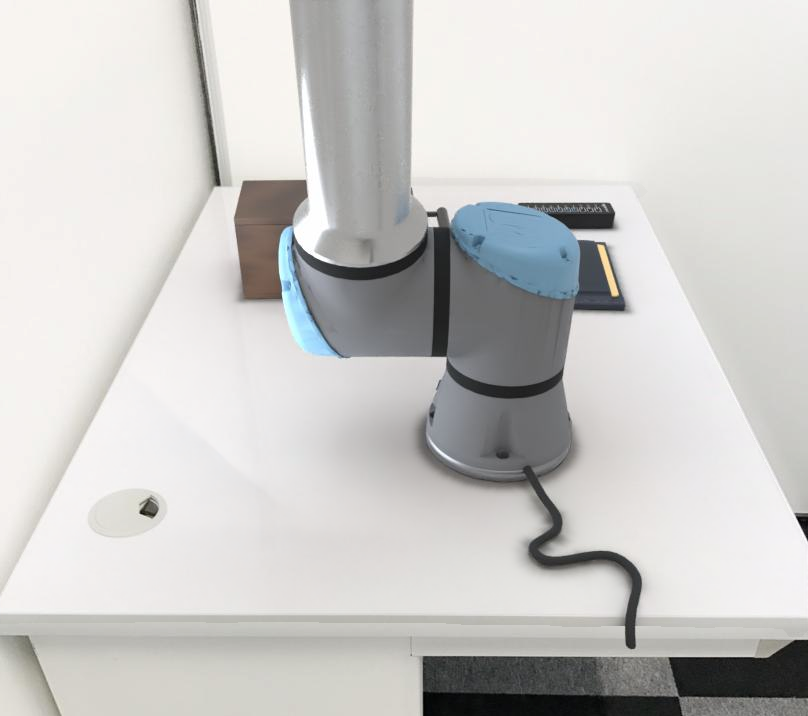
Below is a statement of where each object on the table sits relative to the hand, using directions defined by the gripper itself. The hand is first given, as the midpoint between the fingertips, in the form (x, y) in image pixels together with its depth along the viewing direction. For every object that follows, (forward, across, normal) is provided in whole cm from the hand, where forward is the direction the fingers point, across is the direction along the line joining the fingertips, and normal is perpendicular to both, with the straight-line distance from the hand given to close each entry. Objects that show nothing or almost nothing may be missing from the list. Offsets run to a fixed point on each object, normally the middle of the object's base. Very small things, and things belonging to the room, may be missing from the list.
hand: (378, 166), depth 108 cm
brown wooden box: (+15, 0, -11) cm, 18 cm away
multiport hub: (+15, -17, +29) cm, 37 cm away
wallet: (+15, +1, +25) cm, 29 cm away
